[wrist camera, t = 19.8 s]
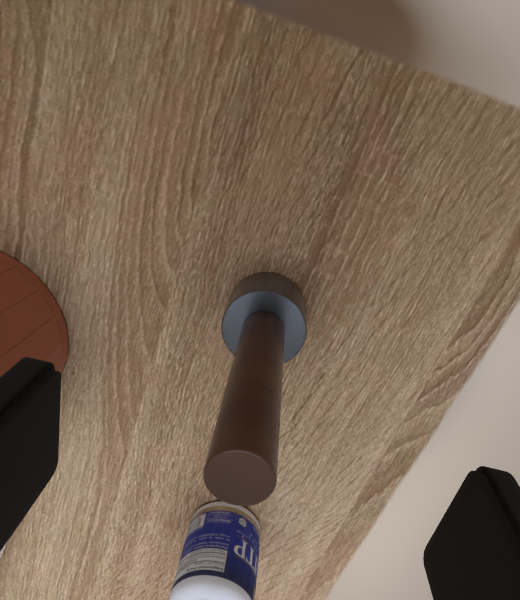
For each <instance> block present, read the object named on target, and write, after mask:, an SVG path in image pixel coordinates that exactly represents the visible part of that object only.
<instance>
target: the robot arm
mask: <svg viewBox="0 0 520 600" xmlns="http://www.w3.org/2000/svg"><path fill="white" fill-rule="evenodd" d="M60 392H61V373H60V372H59V371H55V366H54V364H53V363H51V362H47V361H43V360H38V359H34V358H30V357H24V358H23V359H21V360H20V361H19V362H18V363H16V364H15V365H14V366H13V367H12V368H11V369H9V370H8V371H7V372H6V373H5V374H4V375H2V376H1V377H0V551H1V550H2V548H3V547H4V546H5V544H6V543H7V541H8V540H9V538H10V537H11V535H12V534H13V533H14V531H15V530H16V528H17V527H18V525H19V524H20V522H21V521H22V519H23V518H24V517H25V515H26V514H27V512H28V511H29V509H30V508H31V506H32V505H33V504H34V502H35V501H36V499H37V498H38V496H39V495H40V493H41V492H42V491H43V489H44V488H45V486H46V485H47V483H48V482H49V480H50V479H51V477H52V476H53V474H54V472H55V470H56V467H57V463H58V448H59V420H60ZM423 559H424V567H425V570H426V574H427V578H428V581H429V585H430V588H431V592H432V595H433V599H434V600H520V487H519V485H518V484H517V482H516V480H515V478H514V477H513V476H512V475H511V474H510V473H508V472H505V471H501V470H497V469H493V468H489V467H485V466H481V467H479V468H477V470H476V471H471V472H469V473H468V475H467V477H466V478H465V480H464V482H463V483H462V485H461V487H460V489H459V490H458V492H457V494H456V495H455V497H454V499H453V501H452V502H451V504H450V506H449V508H448V509H447V511H446V513H445V515H444V516H443V518H442V520H441V521H440V523H439V525H438V527H437V528H436V530H435V532H434V534H433V535H432V537H431V539H430V541H429V542H428V544H427V546H426V548H425V551H424V558H423Z"/></svg>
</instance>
